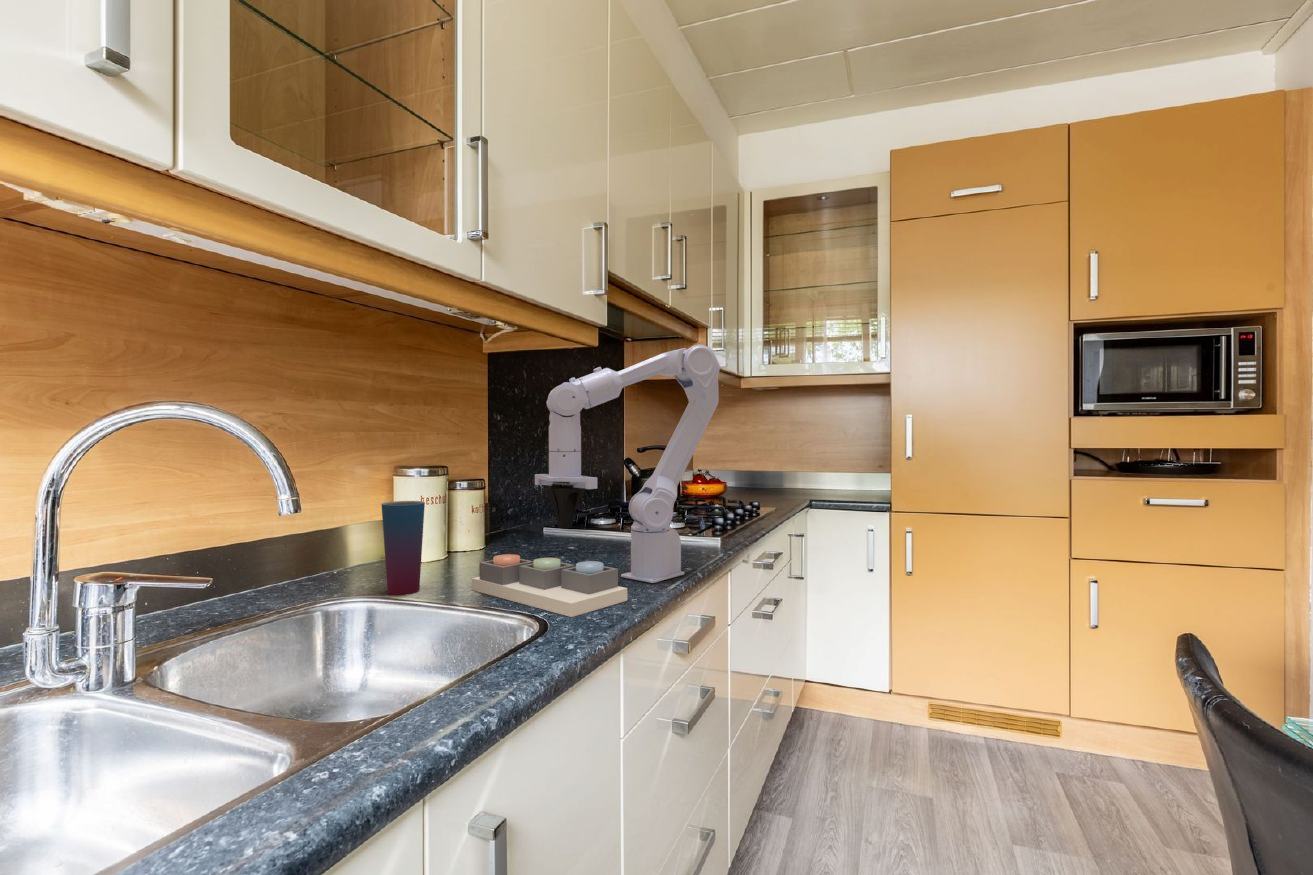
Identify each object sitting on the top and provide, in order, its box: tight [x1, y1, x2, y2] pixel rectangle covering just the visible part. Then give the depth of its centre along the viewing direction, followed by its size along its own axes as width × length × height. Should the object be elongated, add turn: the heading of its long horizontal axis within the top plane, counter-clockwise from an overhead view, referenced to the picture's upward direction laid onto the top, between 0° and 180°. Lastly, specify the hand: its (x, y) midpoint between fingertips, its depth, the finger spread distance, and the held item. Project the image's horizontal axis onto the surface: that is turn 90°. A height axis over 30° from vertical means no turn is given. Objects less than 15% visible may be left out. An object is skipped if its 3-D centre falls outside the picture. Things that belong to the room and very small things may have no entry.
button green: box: [533, 557, 561, 570], centre depth 106 cm, size 4×4×2 cm
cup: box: [381, 500, 426, 596], centre depth 109 cm, size 7×7×15 cm
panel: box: [471, 558, 628, 618], centre depth 106 cm, size 12×25×5 cm, turn 50°
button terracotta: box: [492, 553, 521, 567], centre depth 109 cm, size 4×4×2 cm
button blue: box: [575, 560, 604, 574], centre depth 103 cm, size 4×4×2 cm
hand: (565, 527), depth 115 cm, fingers closed
